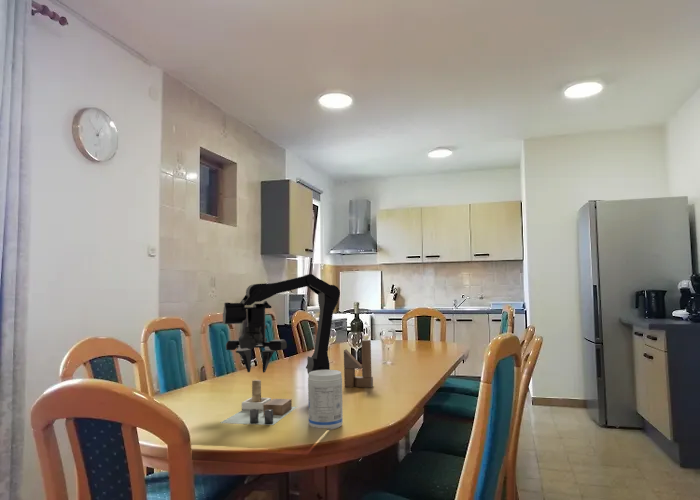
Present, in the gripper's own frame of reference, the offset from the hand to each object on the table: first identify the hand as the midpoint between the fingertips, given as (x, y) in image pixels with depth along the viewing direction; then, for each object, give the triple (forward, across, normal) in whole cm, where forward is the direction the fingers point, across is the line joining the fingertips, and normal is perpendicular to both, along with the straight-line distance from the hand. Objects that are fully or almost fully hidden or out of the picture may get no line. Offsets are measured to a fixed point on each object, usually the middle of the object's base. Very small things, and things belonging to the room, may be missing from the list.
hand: (256, 372), depth 152 cm
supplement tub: (+12, +26, -14) cm, 32 cm away
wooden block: (+12, +24, +42) cm, 50 cm away
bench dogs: (+11, +8, -16) cm, 21 cm away
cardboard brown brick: (+11, +8, -4) cm, 14 cm away
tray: (+11, 0, 0) cm, 11 cm away
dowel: (+11, 0, 0) cm, 11 cm away
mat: (+12, +4, -7) cm, 15 cm away
